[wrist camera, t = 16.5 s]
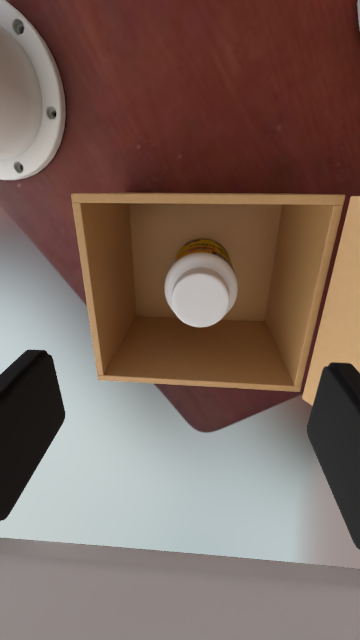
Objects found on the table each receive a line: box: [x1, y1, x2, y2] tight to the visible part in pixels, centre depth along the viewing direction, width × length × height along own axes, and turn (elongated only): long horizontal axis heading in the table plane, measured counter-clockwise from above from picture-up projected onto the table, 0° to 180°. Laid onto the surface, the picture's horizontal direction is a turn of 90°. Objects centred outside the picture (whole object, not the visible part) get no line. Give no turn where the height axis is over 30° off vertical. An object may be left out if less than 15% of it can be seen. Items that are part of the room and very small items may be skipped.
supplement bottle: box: [164, 239, 238, 327], centre depth 23 cm, size 6×6×10 cm
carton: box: [71, 193, 345, 392], centre depth 23 cm, size 15×13×12 cm
